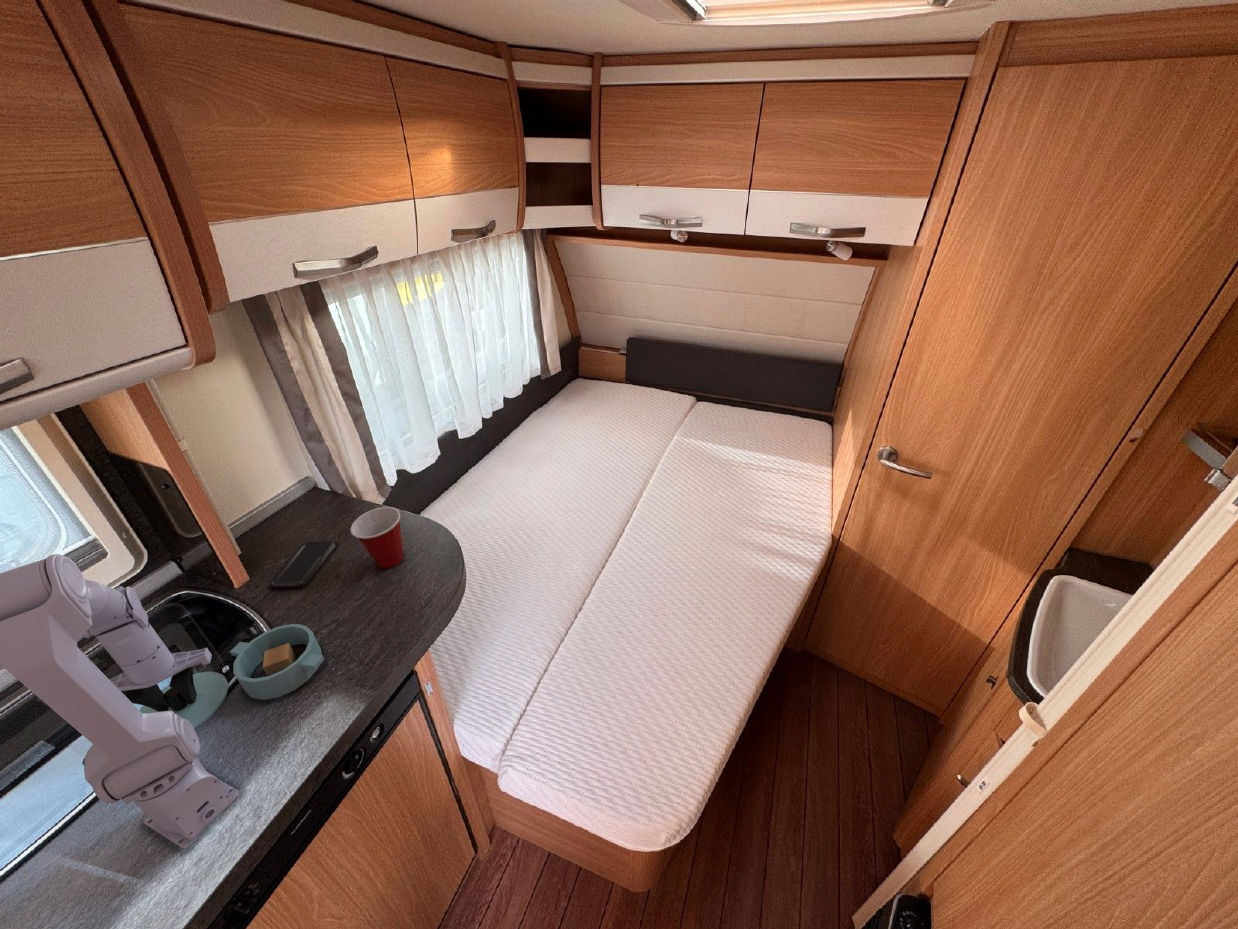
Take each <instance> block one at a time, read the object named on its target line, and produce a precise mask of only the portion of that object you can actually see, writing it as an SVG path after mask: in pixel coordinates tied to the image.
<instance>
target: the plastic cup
mask: <svg viewBox="0 0 1238 929" xmlns="http://www.w3.org/2000/svg"><path fill="white" fill-rule="evenodd" d="M350 533H351V535H352V536H353V537H355V538H356V539H358V540H359V541H360V543H361V544H362V546H364V548H365V550H366V551H367V552H368V554H369V555H370V557H371V558H372V559H373V561H374V563H375V564H376V565H377V566H378V567H379V568H381V569H390V568H393V567H395V566H397V565H399V564H400V563H401V562H402V561H403V558H404V552H403V550H404V549H403V541H402V531H401V513H400V510H399V509H397V508H395V507H393V506H382V507H377V508H374V509H371V510H368V511H366V512H364V513H363V514H361V515H360V516H358V517H357V518H356V519H355V520H354V521H353V522H352V524H351V526H350Z"/></svg>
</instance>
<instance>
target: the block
mask: <svg viewBox="0 0 1238 929" xmlns="http://www.w3.org/2000/svg"><path fill="white" fill-rule="evenodd" d="M296 660H297V655H296V654H295V651H294V649H293V648H292V645H291V646H290V644H289V643H287V644H284V645H282V646H279V647H276V648H273V649H270V650H267V651H265V652H264V660H263V661H262V662H263V663H262V670H264V672H265V674H266V675H267V676H270V675H273V674H275V673H277V672H280V671H282V670H284V669H285V668H287V667H288V666H290V665H291V664H293V663H294V662H295V661H296Z"/></svg>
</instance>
